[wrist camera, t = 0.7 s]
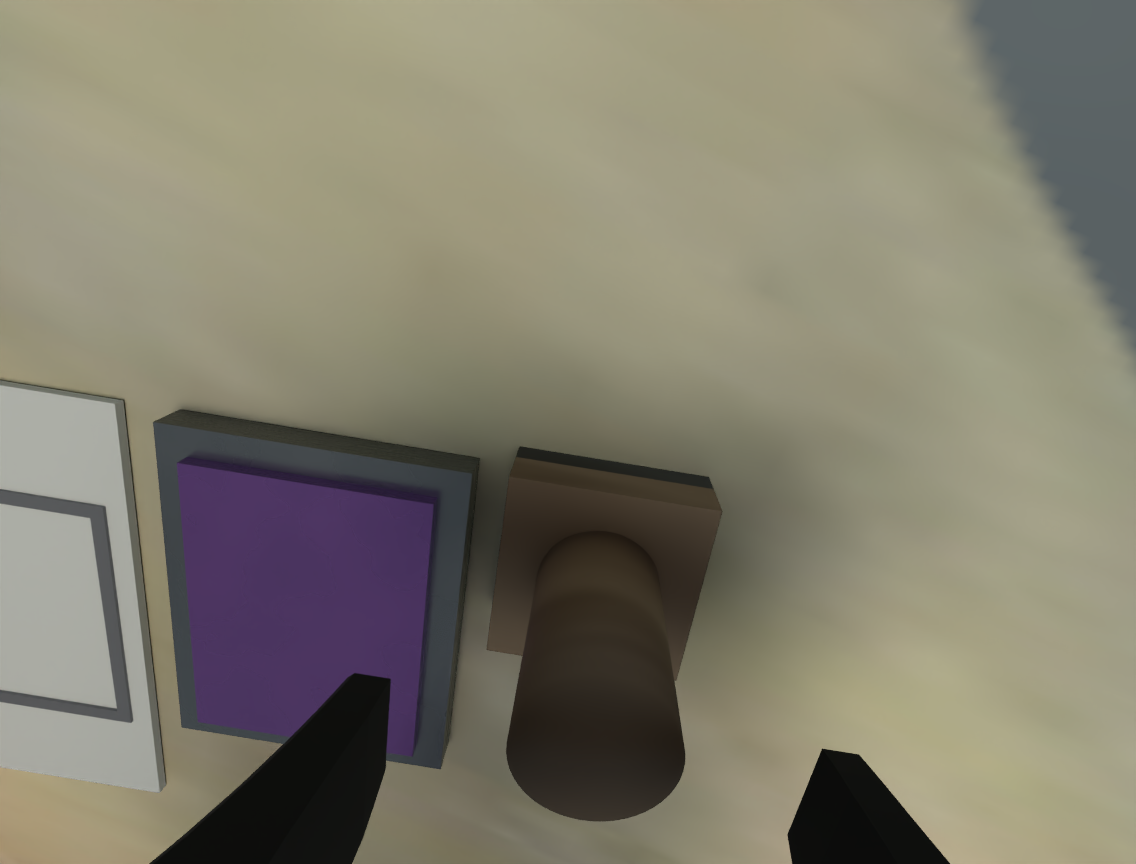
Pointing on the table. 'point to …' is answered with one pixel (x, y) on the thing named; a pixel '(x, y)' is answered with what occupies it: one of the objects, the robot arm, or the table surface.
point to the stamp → (598, 626)
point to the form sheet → (73, 595)
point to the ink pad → (312, 575)
